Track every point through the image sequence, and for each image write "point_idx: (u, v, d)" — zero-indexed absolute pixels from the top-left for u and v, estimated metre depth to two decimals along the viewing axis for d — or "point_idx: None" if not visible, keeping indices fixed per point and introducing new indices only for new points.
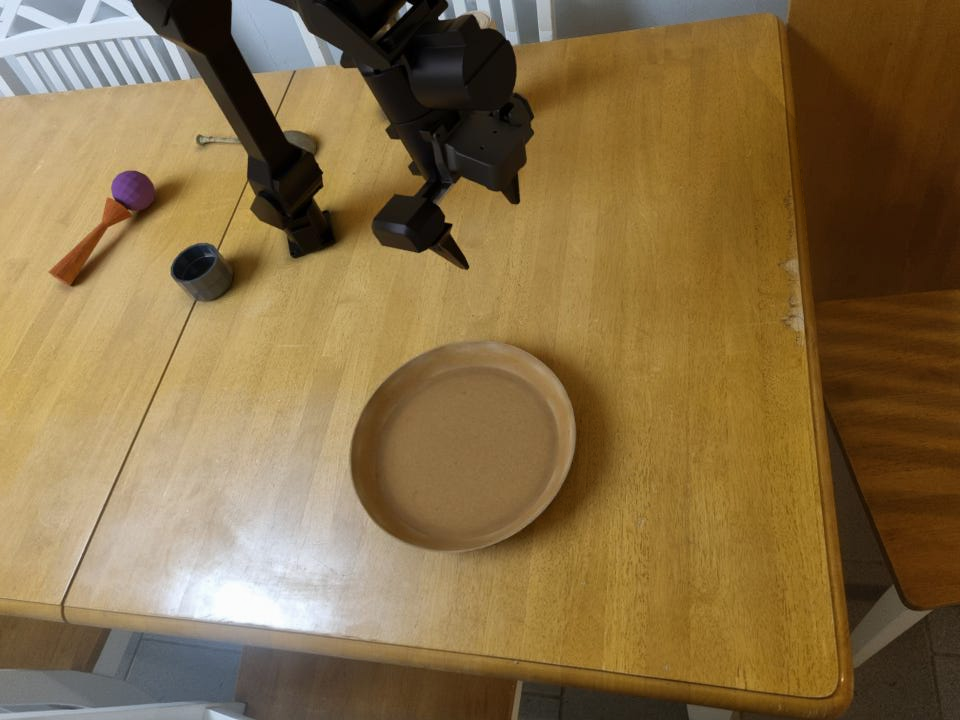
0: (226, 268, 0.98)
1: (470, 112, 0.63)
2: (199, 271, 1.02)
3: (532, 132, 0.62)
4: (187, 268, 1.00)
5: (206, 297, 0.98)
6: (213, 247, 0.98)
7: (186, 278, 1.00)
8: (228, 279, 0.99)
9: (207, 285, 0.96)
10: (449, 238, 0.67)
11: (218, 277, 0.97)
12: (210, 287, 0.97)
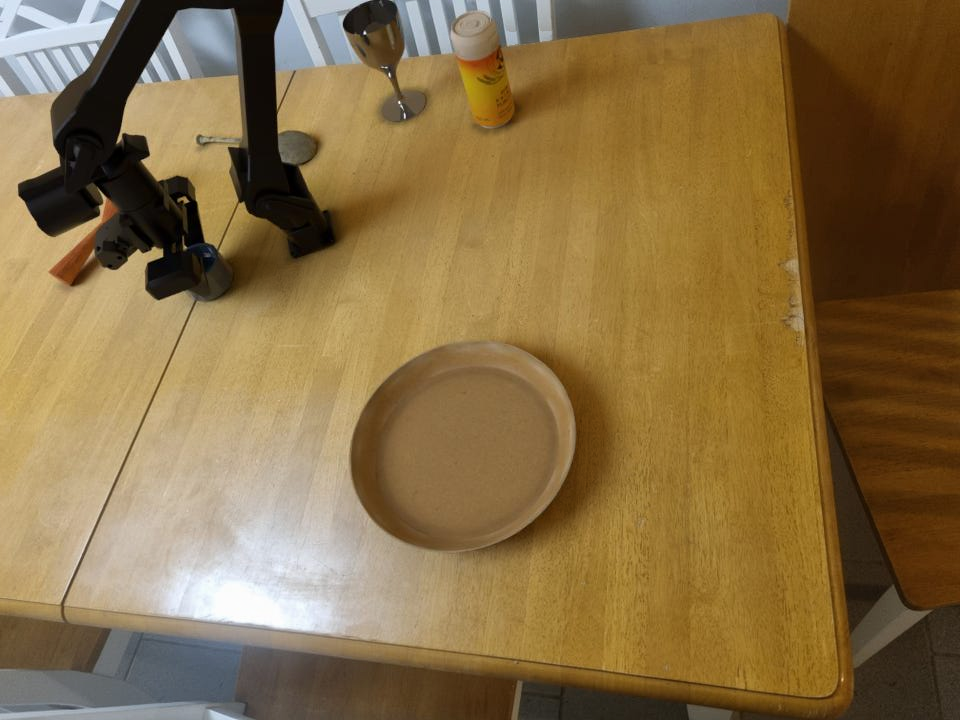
0: (226, 269, 0.98)
1: None
2: None
3: (102, 265, 0.90)
4: None
5: (206, 297, 0.98)
6: (213, 247, 0.98)
7: None
8: (228, 279, 0.99)
9: None
10: None
11: (218, 277, 0.97)
12: (210, 287, 0.97)
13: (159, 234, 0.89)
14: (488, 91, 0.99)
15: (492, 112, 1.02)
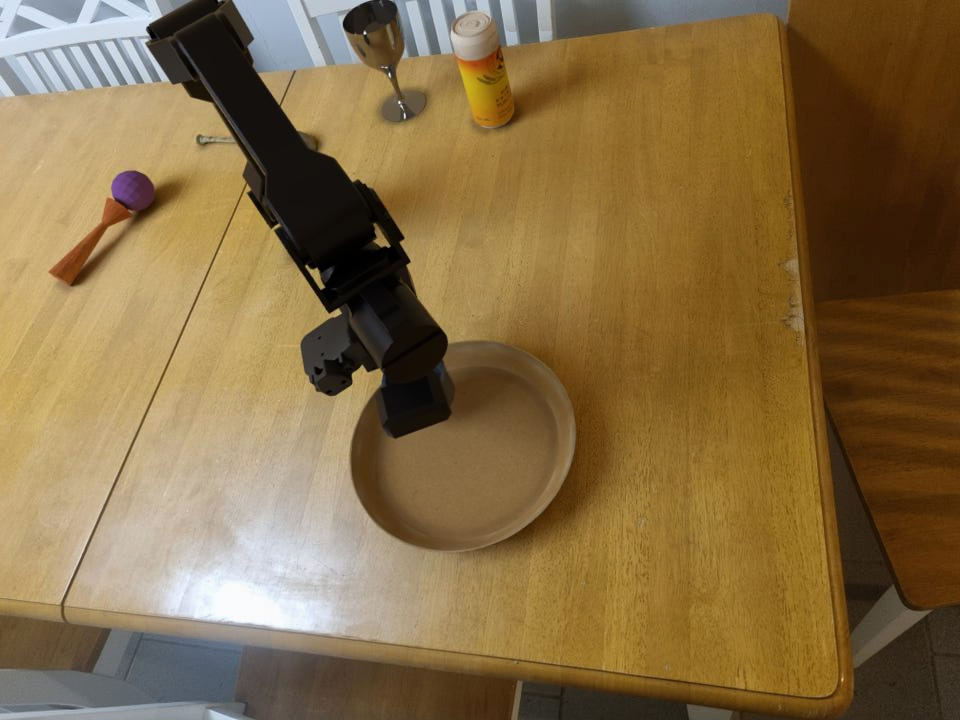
0: (451, 382, 0.77)
1: (352, 345, 0.65)
2: None
3: None
4: None
5: None
6: None
7: None
8: (452, 395, 0.77)
9: None
10: None
11: None
12: None
13: None
14: (488, 91, 0.99)
15: (492, 112, 1.02)
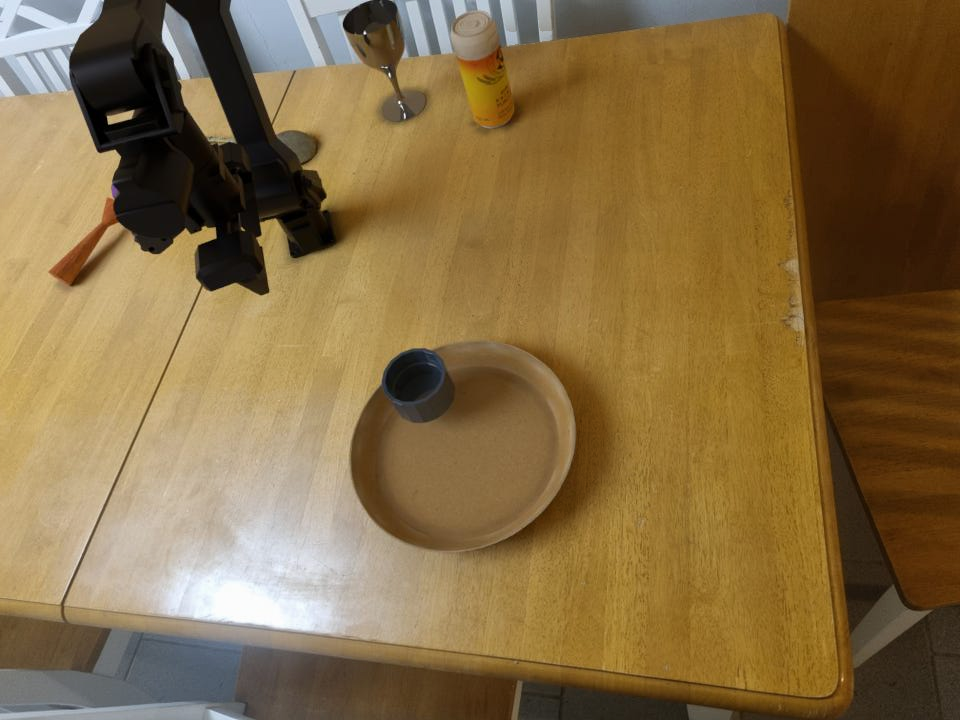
0: (451, 382, 0.77)
1: None
2: (407, 381, 0.80)
3: (141, 248, 0.73)
4: (397, 379, 0.78)
5: (426, 419, 0.76)
6: (436, 355, 0.76)
7: (395, 392, 0.78)
8: (452, 395, 0.77)
9: (432, 406, 0.75)
10: None
11: (444, 395, 0.75)
12: (434, 408, 0.75)
13: (212, 211, 0.72)
14: (488, 91, 0.99)
15: (492, 112, 1.02)
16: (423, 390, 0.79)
